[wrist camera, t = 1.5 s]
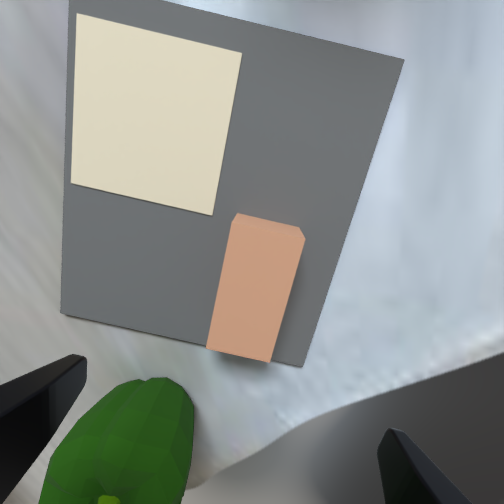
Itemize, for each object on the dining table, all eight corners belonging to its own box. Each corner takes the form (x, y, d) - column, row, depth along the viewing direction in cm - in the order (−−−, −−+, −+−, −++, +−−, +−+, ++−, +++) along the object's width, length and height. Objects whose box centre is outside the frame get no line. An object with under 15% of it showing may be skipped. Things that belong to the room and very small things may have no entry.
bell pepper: (229, 410, 23) (202, 584, 13) (157, 455, 25) (88, 636, 15) (157, 337, 21) (67, 476, 12) (85, 391, 23) (-42, 549, 14)
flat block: (269, 334, 20) (269, 362, 17) (214, 322, 20) (205, 348, 17) (299, 227, 18) (305, 239, 15) (237, 213, 18) (231, 222, 15)
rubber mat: (301, 363, 21) (302, 367, 21) (64, 310, 21) (59, 313, 21) (401, 62, 16) (405, 58, 15) (74, -18, 15) (68, -24, 15)
